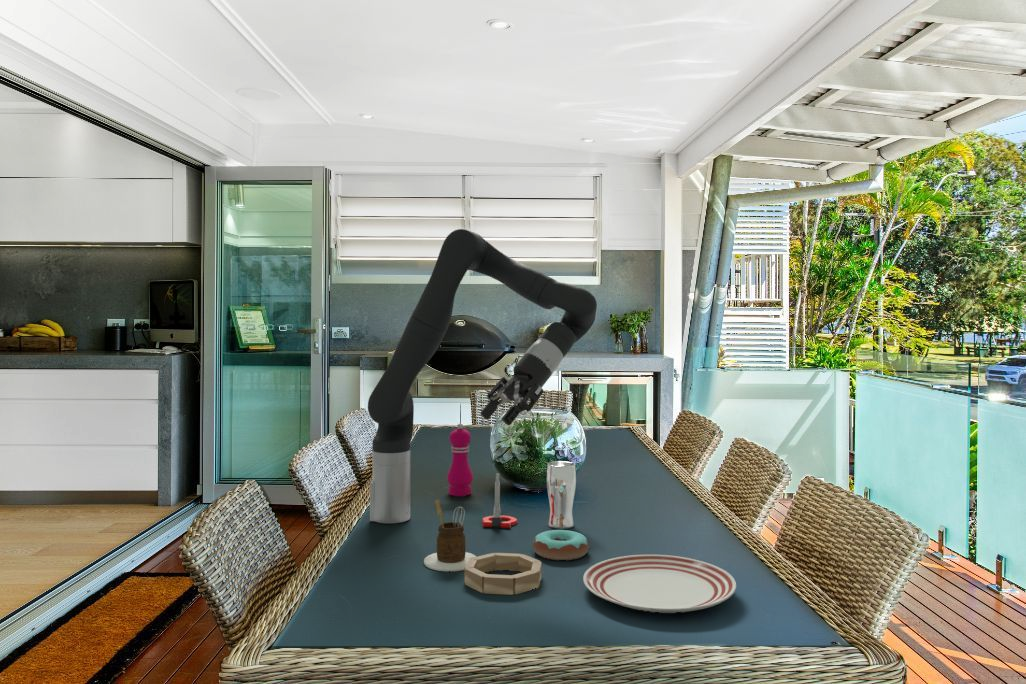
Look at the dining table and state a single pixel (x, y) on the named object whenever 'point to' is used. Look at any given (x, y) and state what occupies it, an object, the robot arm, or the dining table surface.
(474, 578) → the oak ring
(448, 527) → the utensil holder
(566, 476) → the beer glass
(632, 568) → the dinner plate
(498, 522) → the tow hook
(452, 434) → the pepper mill
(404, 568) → the dining table surface
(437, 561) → the coaster
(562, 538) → the donut
